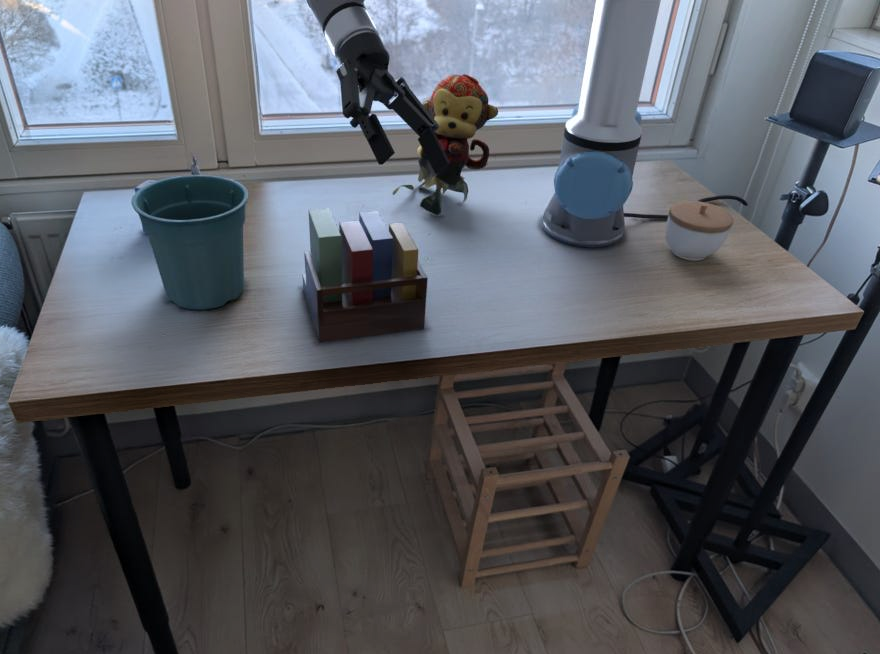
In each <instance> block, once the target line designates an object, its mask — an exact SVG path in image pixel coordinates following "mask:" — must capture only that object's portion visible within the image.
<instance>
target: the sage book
mask: <svg viewBox="0 0 880 654" xmlns="http://www.w3.org/2000/svg"><path fill="white" fill-rule="evenodd" d="M308 227H309V228H308V229H309V245H310V247H309V248H310V255H311V258H312V261H313V264H314V267H315V269H316V272H317V275H318V278H319V281H320V284H321V287H324V286H333V285H342V255H341V234H340V232H339V226H338V224H337V223H336V221H335V217H334V215H333V214H332V211H331V208H330V207H327V208H314V209H308ZM337 301H342V293H341V294H332V295H323V303H328V302H337Z"/></svg>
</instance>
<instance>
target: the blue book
mask: <svg viewBox="0 0 880 654" xmlns="http://www.w3.org/2000/svg"><path fill="white" fill-rule="evenodd" d="M358 220H359V222H360V224H361V226H362V228H363V230H364V232H365V234H366V236H367V238H368V240H369V242H370V244H371V247H372V249H373V281H377V280H386V279H392V253H393V238H392V236H391V234H390V232H389V227H388V226H387V225H386V223H385V221H384V219H383V217H382V215H381V214H380V212H379V210H374V211H361V212H358ZM383 297H391V288H384V289H375V290H373V292H372V299H375V298H383Z"/></svg>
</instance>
